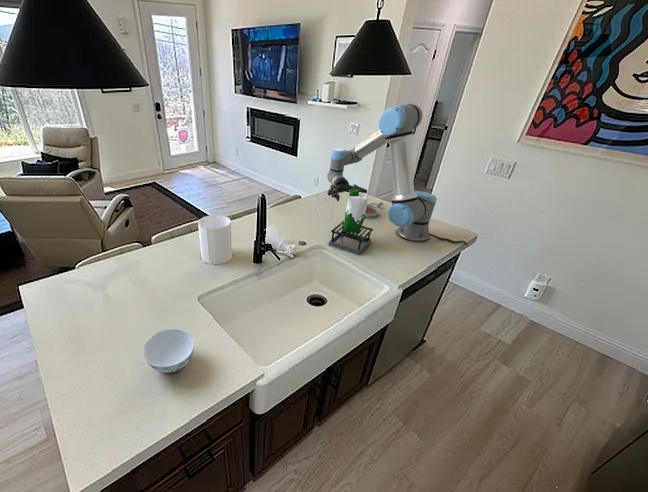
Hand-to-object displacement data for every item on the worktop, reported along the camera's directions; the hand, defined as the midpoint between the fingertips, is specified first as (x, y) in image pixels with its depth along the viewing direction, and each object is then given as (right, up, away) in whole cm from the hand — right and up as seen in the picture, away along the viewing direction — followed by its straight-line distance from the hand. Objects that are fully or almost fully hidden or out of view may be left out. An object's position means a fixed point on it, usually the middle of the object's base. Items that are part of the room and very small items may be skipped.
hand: (352, 198), depth 161 cm
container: (-66, -29, -5) cm, 72 cm away
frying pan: (+23, +1, +41) cm, 47 cm away
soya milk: (0, -15, +1) cm, 15 cm away
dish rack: (0, -22, +5) cm, 23 cm away
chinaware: (-74, -64, -58) cm, 114 cm away
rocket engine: (-37, -26, -1) cm, 45 cm away
